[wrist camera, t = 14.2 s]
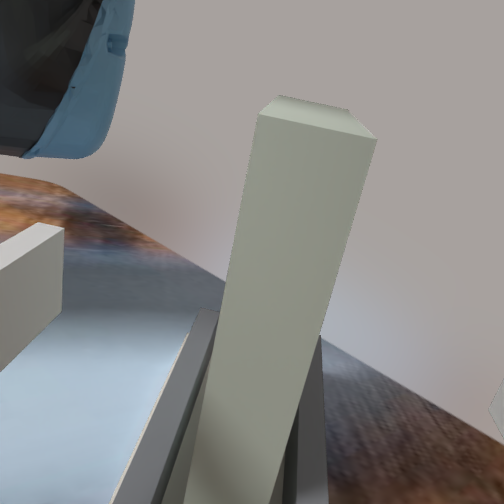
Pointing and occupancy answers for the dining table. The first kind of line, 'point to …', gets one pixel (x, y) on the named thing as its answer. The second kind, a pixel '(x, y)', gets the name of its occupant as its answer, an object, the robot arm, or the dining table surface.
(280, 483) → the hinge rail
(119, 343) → the dining table surface
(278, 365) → the door
